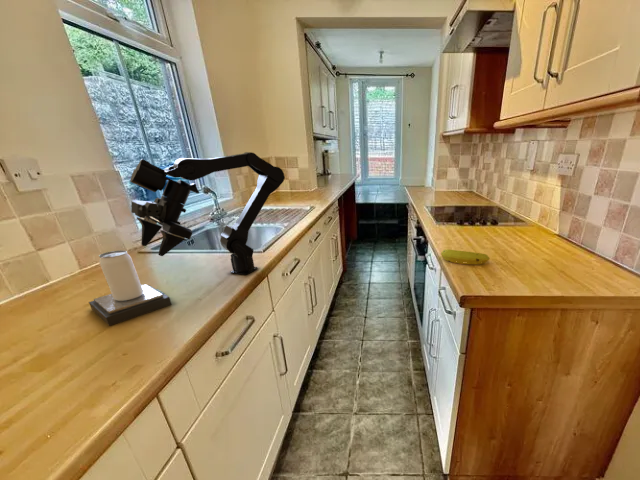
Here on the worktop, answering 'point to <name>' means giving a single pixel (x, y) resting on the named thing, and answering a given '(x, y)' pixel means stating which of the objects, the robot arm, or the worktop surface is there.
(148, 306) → the scale
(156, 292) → the scale pan
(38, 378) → the worktop surface
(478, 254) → the banana
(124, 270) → the can
